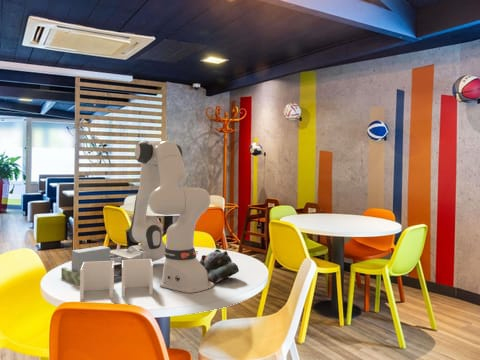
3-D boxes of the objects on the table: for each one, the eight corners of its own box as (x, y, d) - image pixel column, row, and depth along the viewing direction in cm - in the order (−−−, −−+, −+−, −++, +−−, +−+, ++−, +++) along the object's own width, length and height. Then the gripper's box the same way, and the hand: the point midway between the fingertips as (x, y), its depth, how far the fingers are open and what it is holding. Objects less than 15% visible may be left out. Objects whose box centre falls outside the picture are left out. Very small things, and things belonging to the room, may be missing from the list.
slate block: (109, 275, 168) (110, 247, 168) (78, 282, 158) (78, 252, 158) (103, 272, 172) (103, 245, 172) (71, 279, 162) (71, 250, 162)
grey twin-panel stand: (150, 286, 154) (151, 258, 154) (152, 295, 144) (152, 265, 143) (83, 290, 147) (83, 262, 147) (80, 300, 137) (80, 269, 137)
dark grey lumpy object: (209, 286, 155) (197, 253, 158) (205, 289, 166) (194, 258, 169) (243, 272, 160) (230, 241, 163) (237, 276, 170) (225, 246, 174)
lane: (138, 272, 173) (138, 263, 173) (78, 285, 153) (78, 275, 153) (119, 266, 184) (119, 257, 184) (61, 277, 164) (61, 267, 164)
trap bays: (130, 278, 163) (130, 275, 163) (111, 283, 157) (111, 279, 157) (98, 266, 182) (98, 263, 182) (79, 270, 176) (79, 266, 176)
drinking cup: (137, 257, 201) (138, 219, 200) (123, 257, 201) (123, 219, 201) (141, 254, 209) (142, 217, 208) (127, 254, 209) (128, 217, 208)
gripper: (123, 245, 188) (96, 249, 177) (147, 251, 174) (119, 256, 164) (123, 258, 188) (96, 262, 178) (147, 265, 174) (119, 271, 164)
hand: (107, 260), depth 171 cm, fingers open, 3 cm apart
